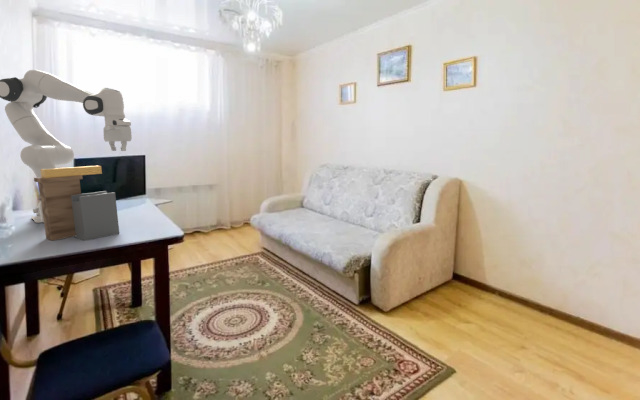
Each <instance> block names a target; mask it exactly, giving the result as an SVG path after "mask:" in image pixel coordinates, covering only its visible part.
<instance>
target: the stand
mask: <svg viewBox="0 0 640 400" xmlns="http://www.w3.org/2000/svg"><path fill="white" fill-rule="evenodd" d="M83 179H84V178H83V175H79V176H67V177H55V178H42V177H40V178H37V177H33V180H34V182H35V183H38V189H39V195H40V198H41V205H42V212H43V219H44V222H43V224H44V232H45V239H46V240H49V241H57V240H62V239H65V238H71V237H76V232H75V224H74V216H73V208H72V200H71V195H77V194H82V188H81V181H80V180H83Z"/></svg>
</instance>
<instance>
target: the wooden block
mask: <svg viewBox="0 0 640 400" xmlns="http://www.w3.org/2000/svg"><path fill="white" fill-rule="evenodd" d="M40 170H41V177H42V178H55V177H67V176H79V175H81V176H87V175H88V176H89V175H100V174H101V175H102V174H103V172H102V165H86V166H85V165H84V166H72V167H71V166H70V167H58V168H57V167H55V168H53V169H40Z"/></svg>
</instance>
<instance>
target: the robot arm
mask: <svg viewBox="0 0 640 400" xmlns="http://www.w3.org/2000/svg"><path fill="white" fill-rule="evenodd" d="M47 98H49V99H53V100H57V101H65V102H76V103H81V104H82V107H83V110H84V111H85V113H86V114H88V115H91V116H95V117H104V127H103V140H104V141H105V142H108V144H109V146H110V150H111V152H112V151H113V152H115V151H117V146H116V145H115V144H116V142H120V144H121V146H120V151H121V152H126V151H127V145H128V142H131V141H132V128H131V126H132V122H131V121H130V120H128V119H127V118H126V115H125V112H124V111H125V110H124V109H125V104H124V97H123V95H122V92H121V91H120V90H119V89H115V88H109V87H103V88H102V89H101V90H100V91H98V92H97V93H92V92H90V91H86V90H84V89H82V88H79V87H78V86H76V85H74V84H72V83H70V82H68V81H66V80H65V79H62V78H60V77H59V76H56V75H54V74H53V73H52V74H51V73H49V72H46V71H43V70H38V69H30V70H28V71H26V72H25V73H24V76H23V78H18V77H15V76H14V77H9V78H8V77H7V78H2V79H0V99H1V100H4V101H7V102H8V103H7V104H6V105H5V106H4V111H5V113H6V116H7V118H8V120H9V122H10V124H11V125H12V126H13V128H14V129H15V131H16V132H17V134H18V135H19V137H20V138H21V139H22V141H24V142H25V143H28V144H30V145H28V146H25V147H23V148H22V149H21V151H20V153H19V155H20V160H21V161H22V163H23V164H25V166H28V167H29V168H30V169H31V170H32V171H33V172H34V174H35V176H36V178H40V177H41V170H40V169H53V168H56V166H63V165H66V164H68V163H71V162H72V161H73V160H74V158H75V153H74V150H73V149H72V148H71V146H68V145H66V144H64V143H63V142H61V141H60V140H58V138H56V137H55V136H54V135H52V134H51V133H50V132H49V131H48V130H47V129H46V127H45V126H44V124H43V123H42V121H40V119H39V118H38V116H37V114H36V113H35V112H34V109H35V108H36V109H37V108H39V107H40V105H42V104H43V103H44V102H45V101H46V100H47ZM33 108H34V109H33ZM38 198H39V202H38V204H37V205H36V207H35V208H33V209H32V212H33V214H35V215H32V216H31V218H32V219H33V220H34V221H33V220H32V221H33V222H34V223H37V224H39V223H44V219H43V212H42V205H41V198H40V194H39V195H38ZM31 218H30V219H31Z"/></svg>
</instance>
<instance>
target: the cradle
mask: <svg viewBox="0 0 640 400" xmlns="http://www.w3.org/2000/svg"><path fill="white" fill-rule="evenodd" d="M71 200H72V208H73V216H74V224H75V232H76V236H75V238H76V239H80V240H82V241H90V240H95V239H99V238H103V237H108V236H111V235H116V234H117V235H118V234H120V226H119V216H118V208H117V207H118V206H117V198H116V192H108V191H107V190H103V191H95V192H87V193H81V194H77V195H71Z"/></svg>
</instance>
